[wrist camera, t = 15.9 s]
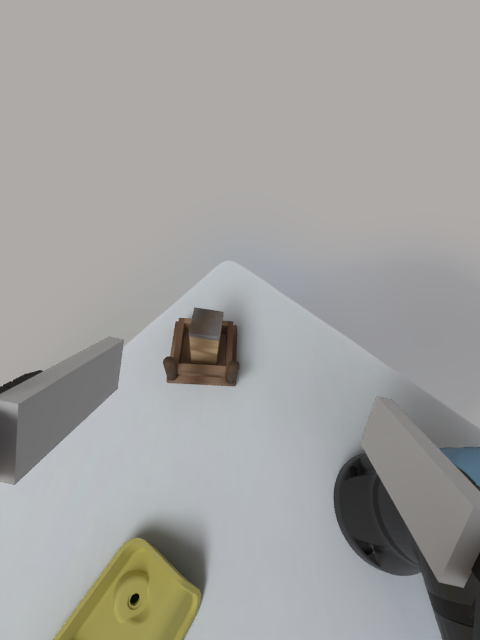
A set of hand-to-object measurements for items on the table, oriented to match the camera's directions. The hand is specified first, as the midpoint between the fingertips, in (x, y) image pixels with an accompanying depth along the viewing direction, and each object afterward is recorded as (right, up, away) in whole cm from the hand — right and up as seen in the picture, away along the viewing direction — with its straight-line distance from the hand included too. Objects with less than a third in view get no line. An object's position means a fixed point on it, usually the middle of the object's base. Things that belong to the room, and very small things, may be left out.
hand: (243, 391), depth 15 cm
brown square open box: (-7, -3, +40) cm, 40 cm away
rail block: (-6, -2, +38) cm, 39 cm away
